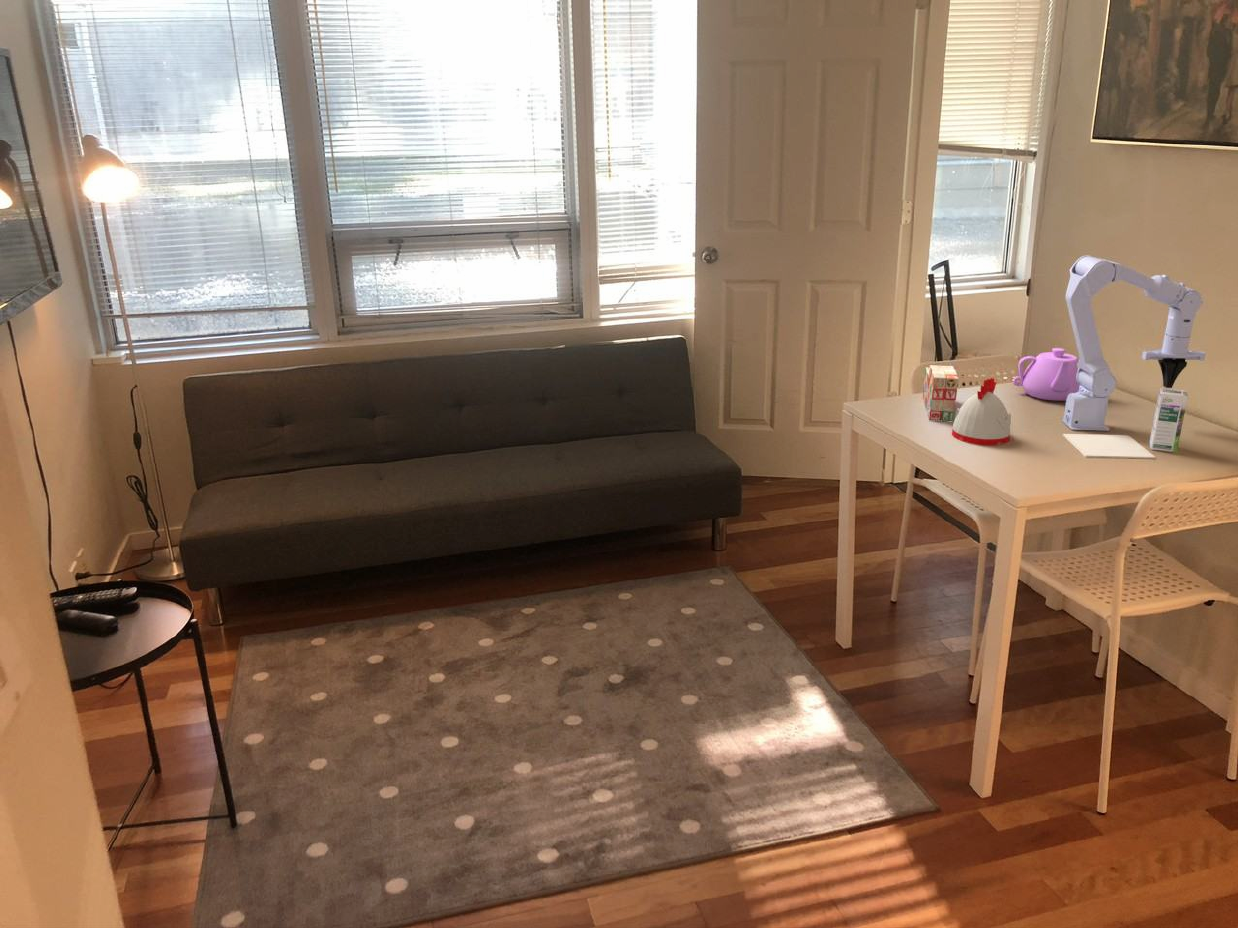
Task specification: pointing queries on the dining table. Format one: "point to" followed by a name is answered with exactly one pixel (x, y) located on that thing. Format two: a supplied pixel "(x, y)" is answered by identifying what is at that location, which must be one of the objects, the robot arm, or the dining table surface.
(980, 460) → the dining table surface
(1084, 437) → the mat
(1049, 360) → the teapot
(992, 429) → the white chicken dome
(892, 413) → the dining table surface
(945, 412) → the stack of blocks
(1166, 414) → the syrup box
